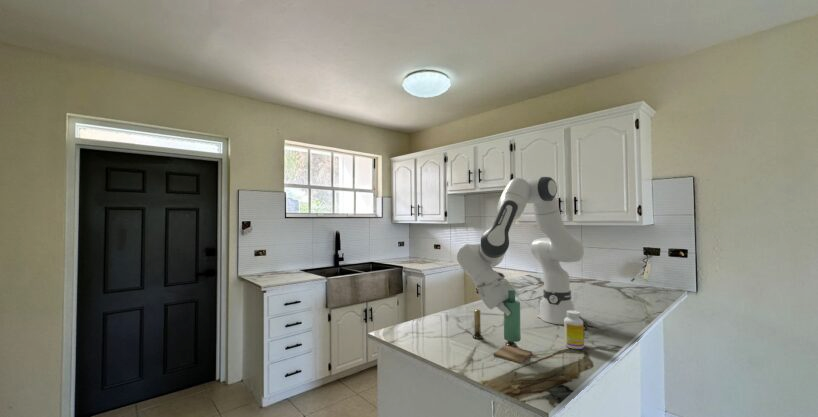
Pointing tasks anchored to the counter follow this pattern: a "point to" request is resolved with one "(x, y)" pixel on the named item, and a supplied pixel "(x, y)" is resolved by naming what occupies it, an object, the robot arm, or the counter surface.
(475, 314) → the post
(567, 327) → the supplement bottle
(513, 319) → the bottle
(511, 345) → the post
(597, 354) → the counter surface
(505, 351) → the plate
